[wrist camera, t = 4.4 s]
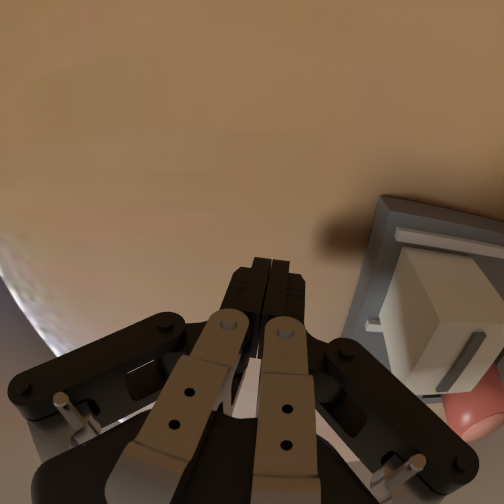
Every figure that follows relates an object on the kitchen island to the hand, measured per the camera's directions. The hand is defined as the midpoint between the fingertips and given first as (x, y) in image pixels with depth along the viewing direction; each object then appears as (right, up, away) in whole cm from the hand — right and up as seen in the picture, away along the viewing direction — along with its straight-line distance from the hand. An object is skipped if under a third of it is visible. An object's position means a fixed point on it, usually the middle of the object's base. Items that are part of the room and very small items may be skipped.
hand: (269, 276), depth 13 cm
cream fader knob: (+8, -1, 0) cm, 8 cm away
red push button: (+14, -8, +2) cm, 16 cm away
